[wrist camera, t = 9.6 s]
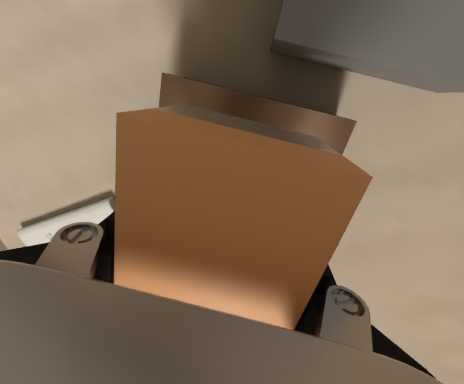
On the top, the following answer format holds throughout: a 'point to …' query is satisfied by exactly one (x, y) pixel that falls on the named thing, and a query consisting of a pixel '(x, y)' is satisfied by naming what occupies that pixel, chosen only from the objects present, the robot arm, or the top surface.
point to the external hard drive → (66, 221)
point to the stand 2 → (379, 39)
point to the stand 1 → (257, 109)
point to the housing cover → (227, 215)
